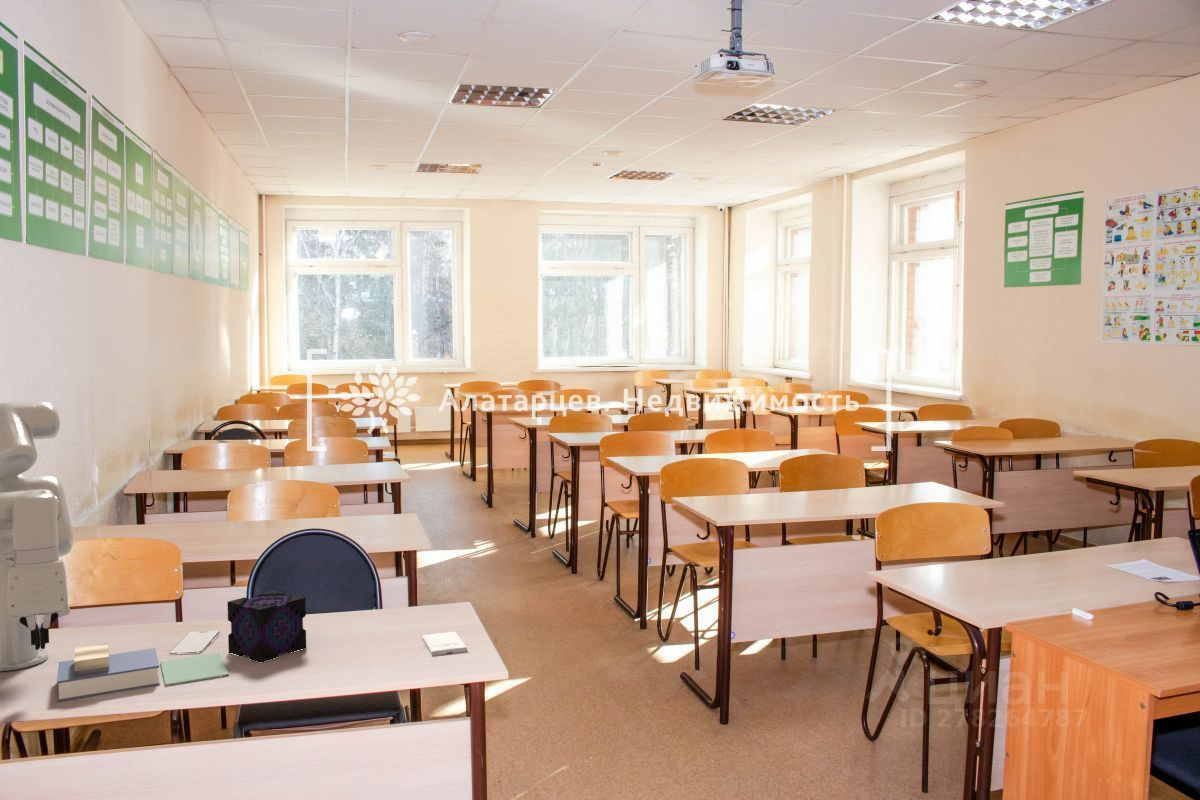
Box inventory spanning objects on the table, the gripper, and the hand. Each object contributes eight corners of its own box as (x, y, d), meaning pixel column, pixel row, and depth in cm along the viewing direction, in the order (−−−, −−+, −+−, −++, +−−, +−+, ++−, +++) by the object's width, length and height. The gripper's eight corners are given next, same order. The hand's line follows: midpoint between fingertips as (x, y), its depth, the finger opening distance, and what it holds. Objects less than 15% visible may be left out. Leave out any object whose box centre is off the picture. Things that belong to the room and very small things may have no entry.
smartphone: (167, 653, 203) (189, 631, 218) (167, 658, 203) (189, 636, 218) (201, 651, 204) (220, 630, 219) (201, 656, 204) (220, 634, 219)
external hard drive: (456, 637, 216) (467, 653, 204) (422, 641, 213) (431, 657, 202) (456, 631, 216) (467, 646, 204) (422, 635, 213) (431, 650, 202)
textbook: (59, 681, 187) (58, 662, 186) (155, 666, 195) (155, 648, 195) (57, 701, 175) (56, 681, 175) (159, 684, 184) (159, 665, 184)
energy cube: (274, 639, 214) (273, 590, 213) (306, 648, 207) (305, 597, 207) (228, 653, 204) (227, 601, 203) (260, 663, 197) (259, 609, 197)
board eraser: (75, 661, 187) (75, 647, 186) (108, 656, 190) (107, 642, 189) (74, 676, 178) (74, 661, 178) (109, 671, 181) (108, 656, 181)
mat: (160, 663, 197) (160, 661, 197) (219, 654, 203) (219, 652, 203) (165, 686, 183) (165, 684, 183) (228, 675, 189) (228, 673, 189)
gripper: (-11, 563, 171) (-7, 659, 171) (79, 554, 178) (83, 646, 179) (-7, 557, 178) (-3, 649, 178) (80, 548, 185) (83, 637, 185)
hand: (40, 647), depth 178 cm, fingers closed
